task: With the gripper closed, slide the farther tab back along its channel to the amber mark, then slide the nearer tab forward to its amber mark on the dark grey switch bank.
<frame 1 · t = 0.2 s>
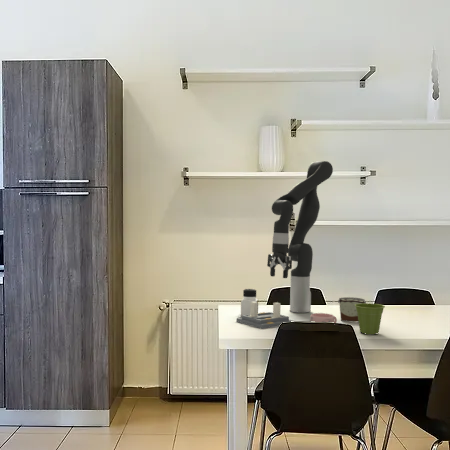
hand: (278, 277, 266), 17 cm above the table, tool pointing down, fingers open, 8 cm apart
tab 1: (253, 310, 245), point 5 cm above the table, slide at 3.5 cm
plant pot: (368, 333, 227), on the table
food container: (352, 320, 254), on the table
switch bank: (265, 322, 244), on the table
medicine bottle: (249, 315, 263), on the table
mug: (324, 329, 234), on the table
tab 2: (276, 311, 243), point 5 cm above the table, slide at -3.5 cm
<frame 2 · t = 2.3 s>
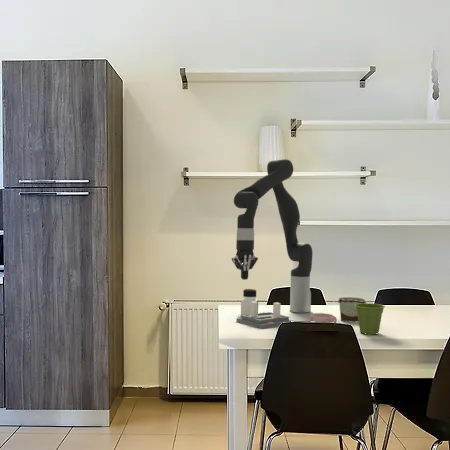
hand: (244, 279, 241), 19 cm above the table, tool pointing down, fingers closed
nothing on the table moved.
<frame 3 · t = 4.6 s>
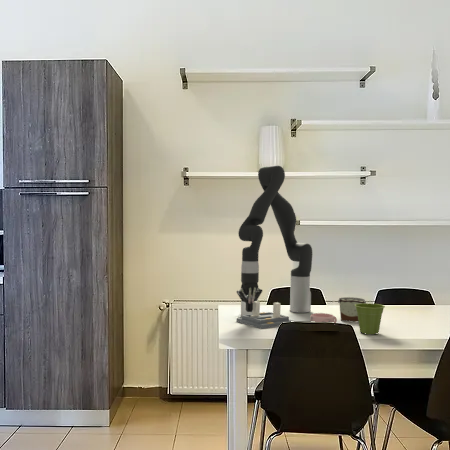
hand: (249, 311, 244), 5 cm above the table, tool pointing down, fingers closed
tab 1: (256, 309, 246), point 5 cm above the table, slide at 2.2 cm, touching gripper
everything else where it was.
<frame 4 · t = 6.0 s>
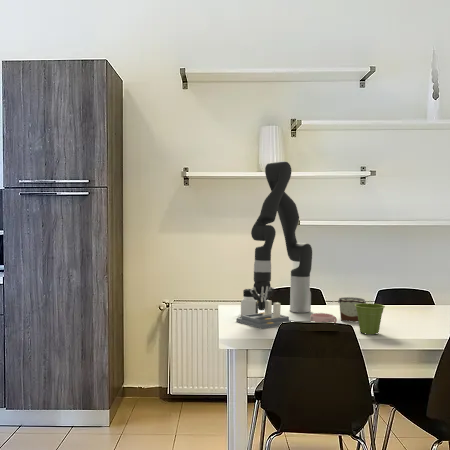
hand: (261, 310, 248), 5 cm above the table, tool pointing down, fingers closed
tab 1: (268, 308, 250), point 5 cm above the table, slide at -4.6 cm, touching gripper
everything else where it was.
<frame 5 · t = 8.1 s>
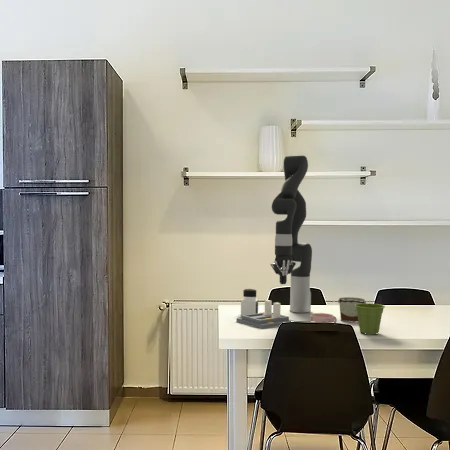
hand: (283, 284, 247), 17 cm above the table, tool pointing down, fingers closed
tab 1: (268, 308, 250), point 5 cm above the table, slide at -4.6 cm
everything else where it was.
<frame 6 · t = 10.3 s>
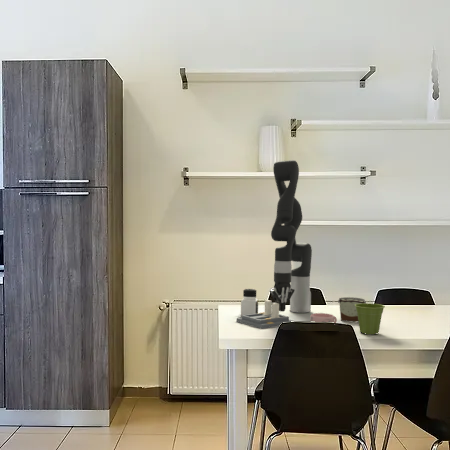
hand: (281, 311, 245), 5 cm above the table, tool pointing down, fingers closed
tab 2: (275, 311, 243), point 5 cm above the table, slide at -2.7 cm, touching gripper
everything else where it was.
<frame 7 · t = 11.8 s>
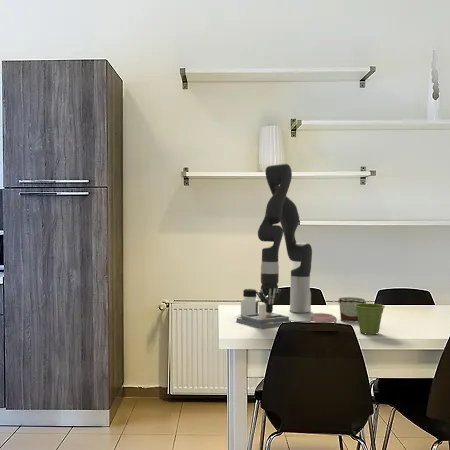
hand: (269, 312, 241), 5 cm above the table, tool pointing down, fingers closed
tab 2: (262, 312, 239), point 5 cm above the table, slide at 4.6 cm, touching gripper
everything else where it was.
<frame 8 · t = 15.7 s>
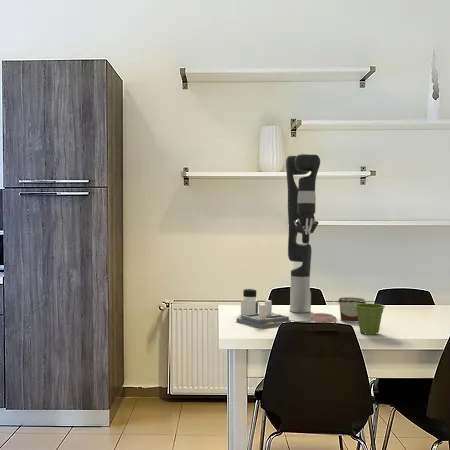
hand: (305, 243, 237), 35 cm above the table, tool pointing down, fingers closed
tab 2: (262, 312, 239), point 5 cm above the table, slide at 4.6 cm
everything else where it was.
at the end: tab 1 slide at -4.6 cm; tab 2 slide at 4.6 cm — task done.
